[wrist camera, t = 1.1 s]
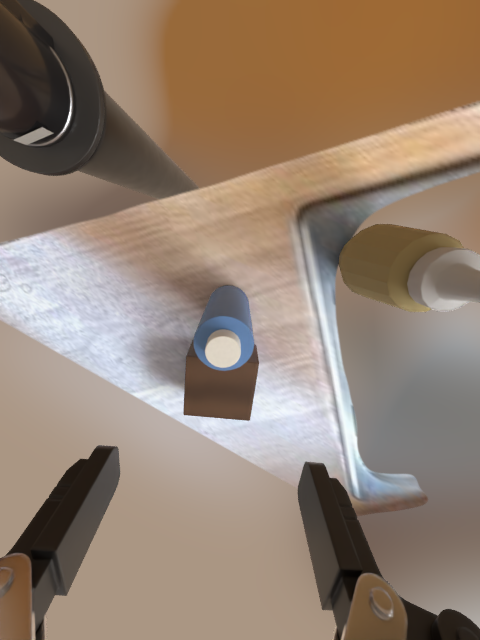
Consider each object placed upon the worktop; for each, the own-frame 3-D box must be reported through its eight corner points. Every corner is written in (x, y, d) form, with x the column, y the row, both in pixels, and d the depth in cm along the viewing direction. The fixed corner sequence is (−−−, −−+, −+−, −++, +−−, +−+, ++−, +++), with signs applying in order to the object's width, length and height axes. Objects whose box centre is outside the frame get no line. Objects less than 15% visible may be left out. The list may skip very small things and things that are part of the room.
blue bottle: (209, 283, 32) (191, 318, 20) (251, 287, 33) (259, 325, 20) (207, 321, 34) (188, 377, 22) (246, 325, 35) (250, 382, 22)
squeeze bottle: (378, 209, 30) (565, 186, 13) (403, 267, 32) (589, 312, 15) (317, 249, 31) (412, 276, 14) (346, 301, 33) (456, 377, 17)
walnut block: (192, 338, 35) (186, 356, 31) (256, 345, 36) (259, 363, 31) (190, 392, 38) (183, 415, 34) (248, 397, 39) (249, 420, 34)
